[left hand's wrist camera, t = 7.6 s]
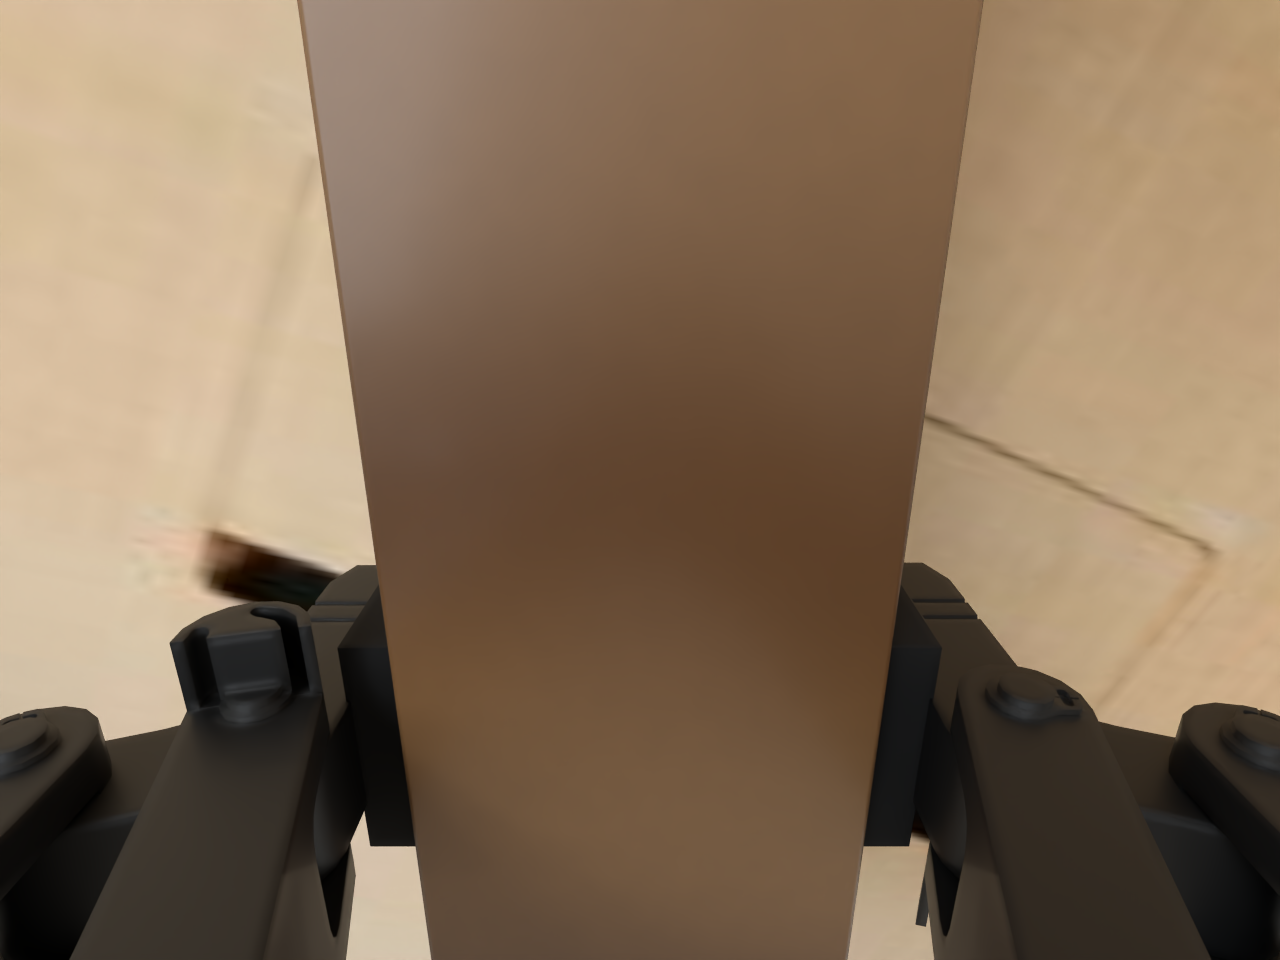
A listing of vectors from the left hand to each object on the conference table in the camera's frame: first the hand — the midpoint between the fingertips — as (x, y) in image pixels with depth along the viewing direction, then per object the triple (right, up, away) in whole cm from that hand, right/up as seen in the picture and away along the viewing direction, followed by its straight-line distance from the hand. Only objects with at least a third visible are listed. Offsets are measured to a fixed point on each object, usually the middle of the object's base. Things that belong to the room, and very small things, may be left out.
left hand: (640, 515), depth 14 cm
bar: (0, +13, -4) cm, 13 cm away
